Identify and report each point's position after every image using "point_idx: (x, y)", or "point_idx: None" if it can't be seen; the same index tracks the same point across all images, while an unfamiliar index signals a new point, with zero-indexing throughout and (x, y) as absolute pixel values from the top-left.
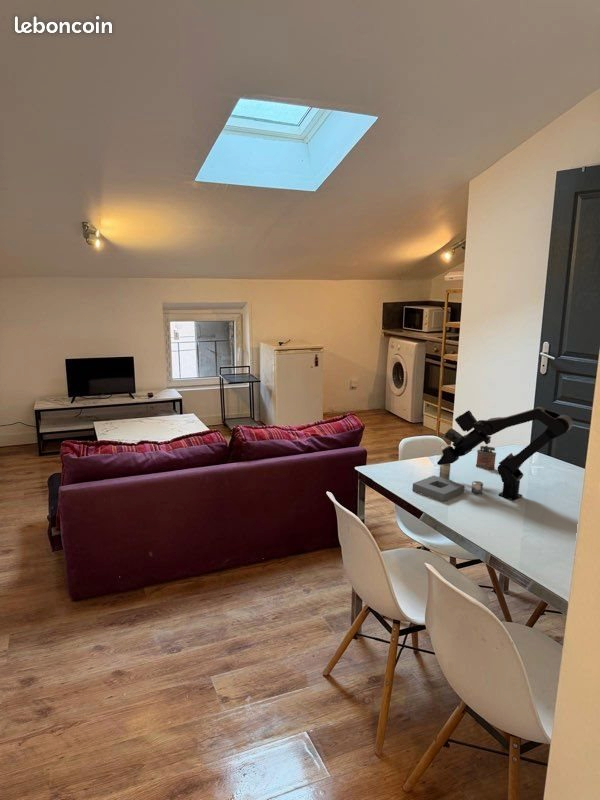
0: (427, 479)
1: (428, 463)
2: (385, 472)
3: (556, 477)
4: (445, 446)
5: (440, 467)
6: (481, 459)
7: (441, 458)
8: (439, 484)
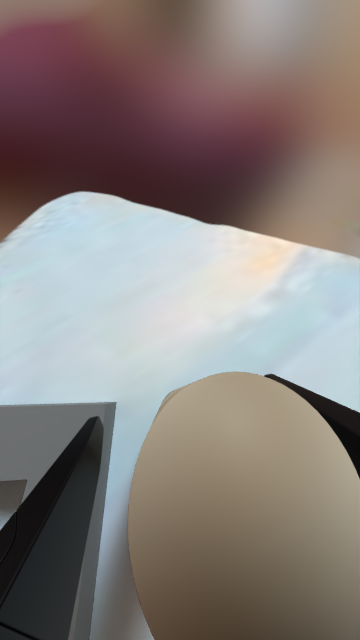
0: (15, 423)
1: (267, 273)
2: (87, 240)
3: None
4: (266, 434)
5: (162, 402)
6: None
7: (13, 523)
8: None
